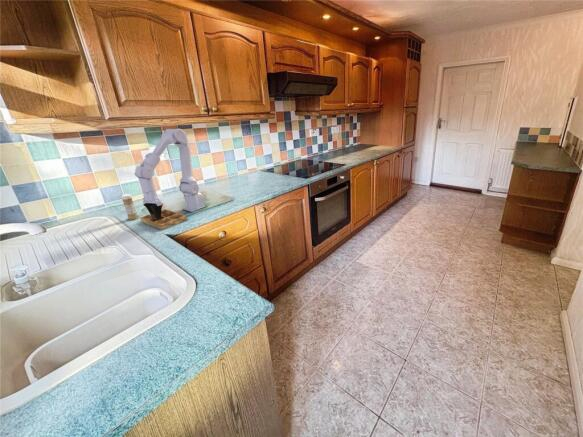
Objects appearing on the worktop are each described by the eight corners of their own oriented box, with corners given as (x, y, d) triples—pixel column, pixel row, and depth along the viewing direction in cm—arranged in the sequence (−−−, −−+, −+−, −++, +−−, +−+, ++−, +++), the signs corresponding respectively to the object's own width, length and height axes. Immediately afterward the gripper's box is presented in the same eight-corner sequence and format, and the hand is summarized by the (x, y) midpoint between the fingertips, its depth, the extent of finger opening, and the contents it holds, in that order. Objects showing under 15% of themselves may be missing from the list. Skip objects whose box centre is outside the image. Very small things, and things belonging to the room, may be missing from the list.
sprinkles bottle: (131, 217, 142) (123, 193, 137) (139, 216, 142) (132, 193, 137) (127, 220, 138) (119, 196, 132) (135, 219, 138) (128, 195, 133)
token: (158, 216, 134) (157, 210, 133) (163, 218, 132) (161, 212, 130) (150, 219, 131) (148, 213, 129) (154, 221, 128) (153, 215, 127)
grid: (166, 213, 145) (165, 208, 144) (187, 220, 134) (186, 215, 133) (141, 221, 135) (140, 217, 134) (161, 230, 124) (160, 225, 123)
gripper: (133, 191, 127) (141, 216, 132) (148, 195, 118) (155, 222, 124) (148, 187, 132) (154, 212, 137) (163, 191, 124) (169, 217, 129)
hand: (156, 216), depth 131 cm, fingers closed on token, 4 cm apart
